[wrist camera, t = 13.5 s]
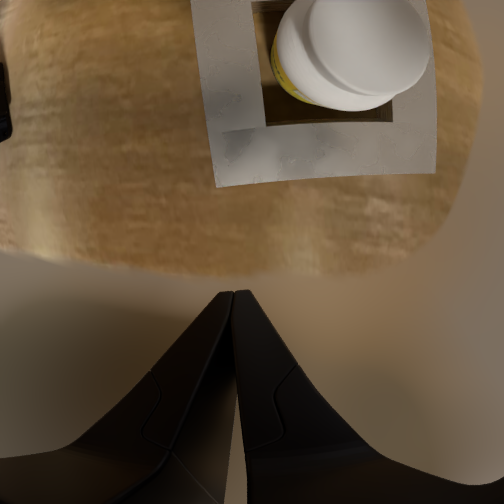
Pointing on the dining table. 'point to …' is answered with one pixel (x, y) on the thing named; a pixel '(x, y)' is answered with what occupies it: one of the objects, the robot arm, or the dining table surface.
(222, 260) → the dining table surface
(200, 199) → the dining table surface
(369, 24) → the supplement bottle
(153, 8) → the dining table surface
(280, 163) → the frame
